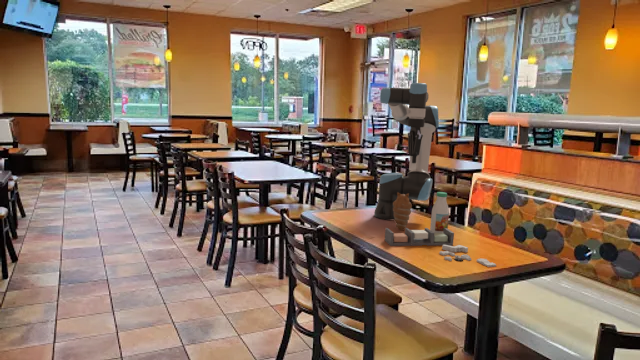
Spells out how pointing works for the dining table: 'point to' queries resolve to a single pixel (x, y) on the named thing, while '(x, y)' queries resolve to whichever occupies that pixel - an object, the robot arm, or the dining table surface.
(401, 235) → the brown flat block
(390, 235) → the keypad
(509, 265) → the dining table surface
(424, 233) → the cream key
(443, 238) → the sage key
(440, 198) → the milk bottle
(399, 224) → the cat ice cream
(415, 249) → the dining table surface
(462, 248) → the white puzzle pieces
